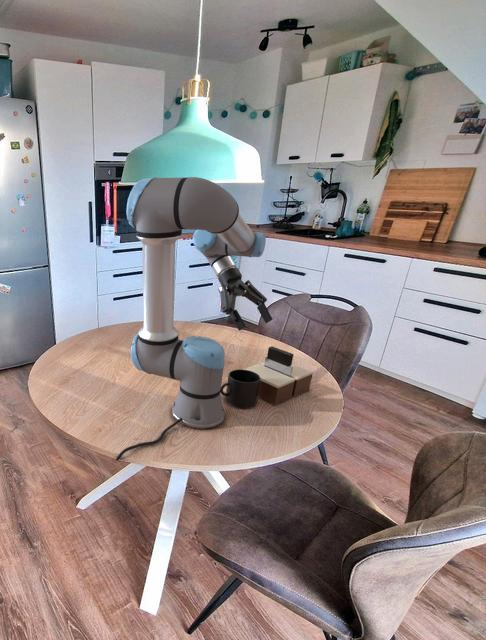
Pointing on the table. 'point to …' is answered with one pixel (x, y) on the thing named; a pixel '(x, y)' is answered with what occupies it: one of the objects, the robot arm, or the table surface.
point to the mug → (242, 388)
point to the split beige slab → (281, 383)
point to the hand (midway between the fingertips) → (256, 324)
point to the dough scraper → (279, 361)
